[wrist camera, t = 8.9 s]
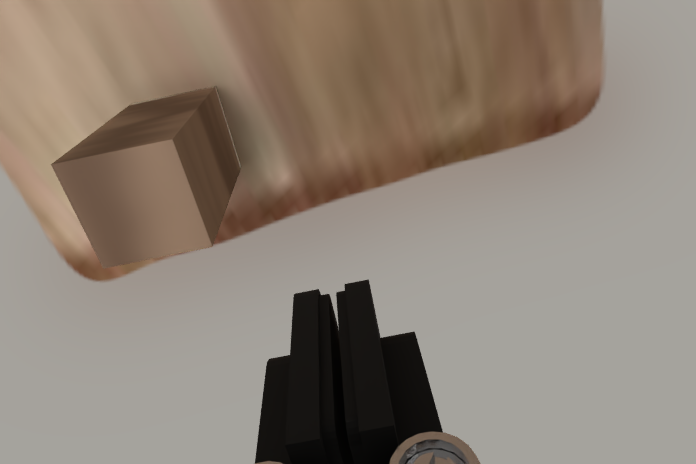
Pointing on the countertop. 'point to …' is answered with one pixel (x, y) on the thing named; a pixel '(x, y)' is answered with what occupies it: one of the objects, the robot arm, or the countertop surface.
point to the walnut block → (153, 178)
